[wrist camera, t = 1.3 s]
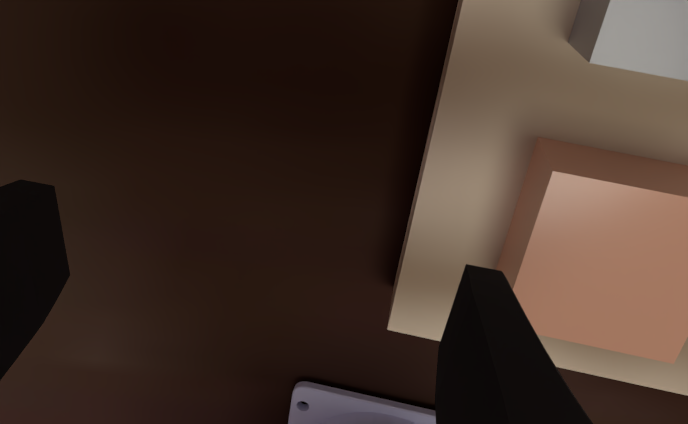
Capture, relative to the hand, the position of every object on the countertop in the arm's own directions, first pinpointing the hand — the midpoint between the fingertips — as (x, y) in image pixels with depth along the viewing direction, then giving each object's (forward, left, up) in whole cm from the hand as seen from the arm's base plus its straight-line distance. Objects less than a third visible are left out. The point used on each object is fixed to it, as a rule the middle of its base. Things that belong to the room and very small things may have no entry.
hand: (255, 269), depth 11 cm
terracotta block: (-1, -8, -7) cm, 11 cm away
